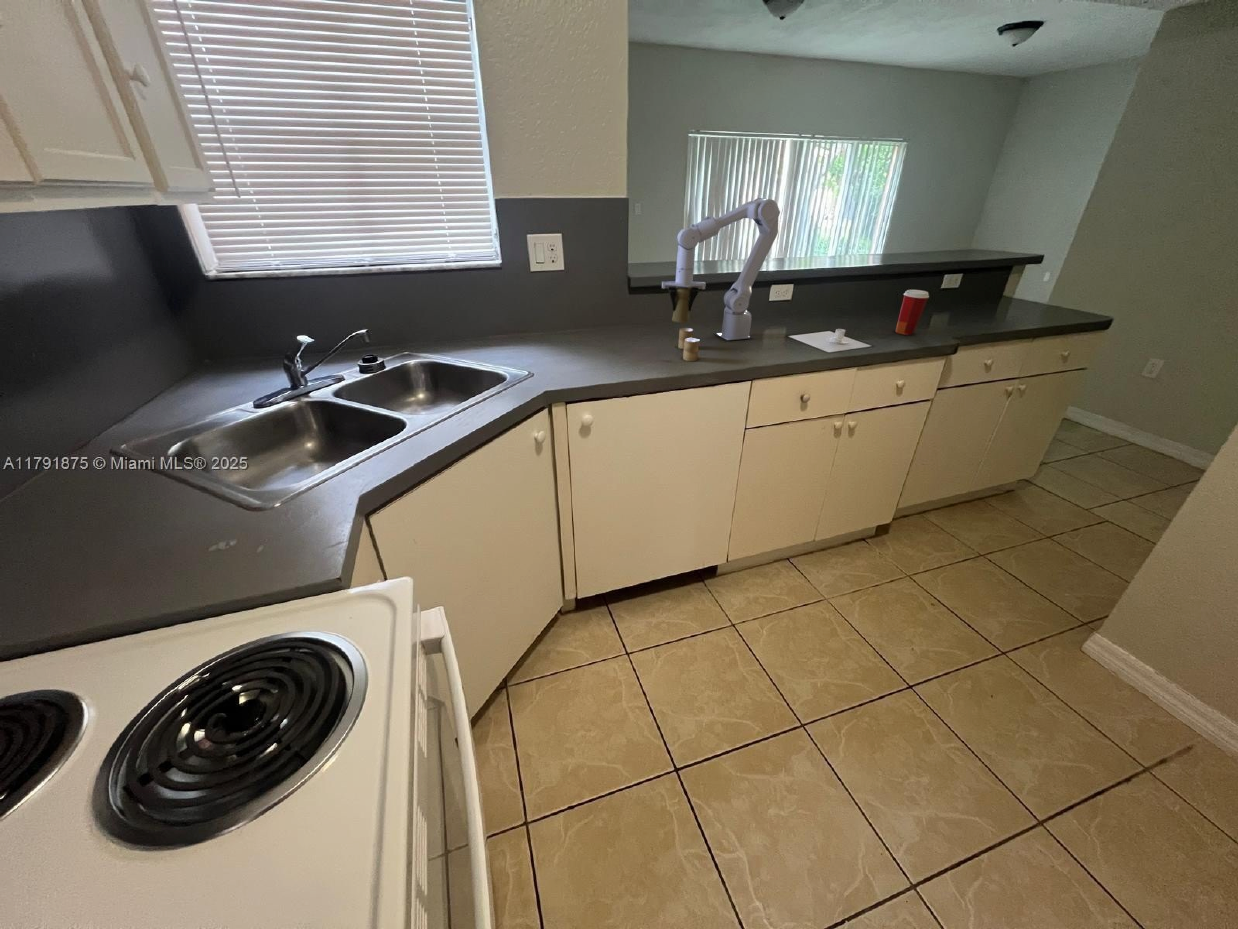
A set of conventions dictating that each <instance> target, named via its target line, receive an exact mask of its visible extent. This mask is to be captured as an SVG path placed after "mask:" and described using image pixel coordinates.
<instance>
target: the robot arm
mask: <svg viewBox="0 0 1238 929" xmlns="http://www.w3.org/2000/svg"><path fill="white" fill-rule="evenodd" d="M780 214H781V211H780V208H779V206H778V202H776V200H774V199H771V198H762V197H758V198H755V199H753V200H749V201H747V202H745V203H743V204H740V206H738V207H735V208H734V209H732V210H729V211H728V212H726V213H724V214H722V215H720V216H718V217H715V216H708V215H707V216H704V217H703V220H701V221H699V222H697V223H691V224H689V227H690V228H689V227H684V228H682V229H680V231H679V232H678V234H677V236H676V243H677V244H678V246H677V256H676V269H675V280H671V281H670V280H667V281H661V289H663V290H664V289H667V291H668V294H669V297H670V302H671V307H672V308H671V310H672V311H673V312H674V311H675V302H676V289H677V288H689V289H690V291H691V293H690V296H689V298H688V299H689V312H691V310H692V308H693V305H694V302H695V300H696V298H697V296H698V294H699V290H706V285H707V283H706V282H705V281H694V280H693V279H694V271H695V270H694V269H695V258H696V247H697V246H698V244H701V243H703V242H705V241H707V240H709V239H711V238H713V237H716V236H717V235H718V234H719V233H720V231H721V229H722V228H724V227H725V228H726V227H727V226H729V225H732V224H735V223H737V222H739V221H741V220H743V219H749V220H750V219H751V220H753V222H754V223H755V225H756V226H757V229H758V232H759V234H758V237H757V238H756V241H755V242H754V245H753V247H752V249H751V252H750V253H749V255H748V258H747V260H746V261H745V264H744V266H743V267H742V270H741V272H740V274H739V276H738V278H737V280H736V281H735V282H734V283H733V284H732V285H731V287H730V288H729V290H728V291H726V292H725V294H724V296H723V304H724V305H725V308H724V309H723V310H724V311H723V318H722V325H721V332H716V333H715V334H716V336H718V337H720V338H721V339H724V340H726V341H735V340H746V339H747V340H748V339H750V338H751V336H750V332H751V327H752V326H751V325H752V314H751V312H750V311H748V308H749V305H750V299H751V296H752V287H753V285H754V283H755V280H756V279H757V277H758V274H759V273H760V270H761V269H762V267H763V264H764V262H765V261H766V259H767V257H768V254H769V252H770V250H771V248H772V247H773V244H774V243H775V240H776V238H777V237H778V235H779V217H780Z"/></svg>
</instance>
